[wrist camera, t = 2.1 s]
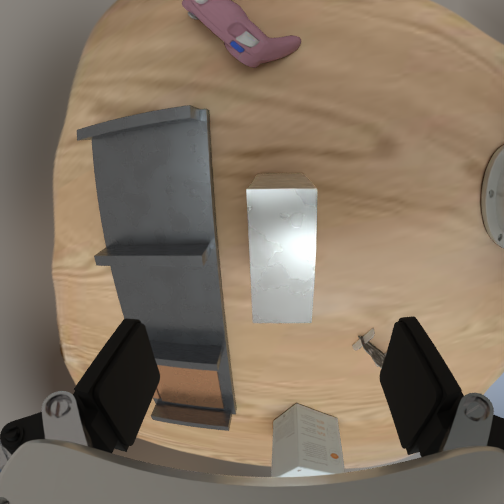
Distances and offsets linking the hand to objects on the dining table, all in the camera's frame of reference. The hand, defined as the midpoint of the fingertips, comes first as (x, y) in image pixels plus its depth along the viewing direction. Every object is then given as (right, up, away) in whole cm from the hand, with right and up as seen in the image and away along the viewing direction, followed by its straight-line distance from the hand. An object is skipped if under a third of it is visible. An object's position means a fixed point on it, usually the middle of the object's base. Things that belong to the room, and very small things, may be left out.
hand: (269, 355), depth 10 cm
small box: (+7, -21, +26) cm, 34 cm away
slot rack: (-10, -1, +20) cm, 22 cm away
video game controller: (-1, +24, +10) cm, 26 cm away
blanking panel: (+2, +6, +16) cm, 17 cm away
